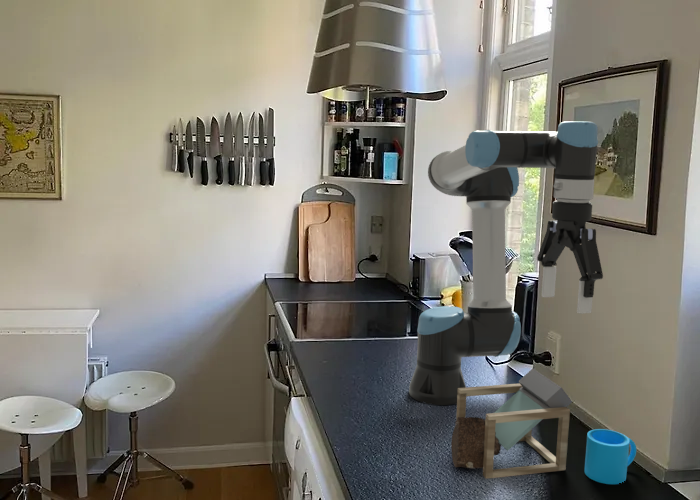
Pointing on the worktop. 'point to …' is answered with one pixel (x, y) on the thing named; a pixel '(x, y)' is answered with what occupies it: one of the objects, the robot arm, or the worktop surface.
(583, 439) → the worktop surface
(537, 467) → the frame
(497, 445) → the rock
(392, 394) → the worktop surface
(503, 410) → the trapdoor
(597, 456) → the mug
